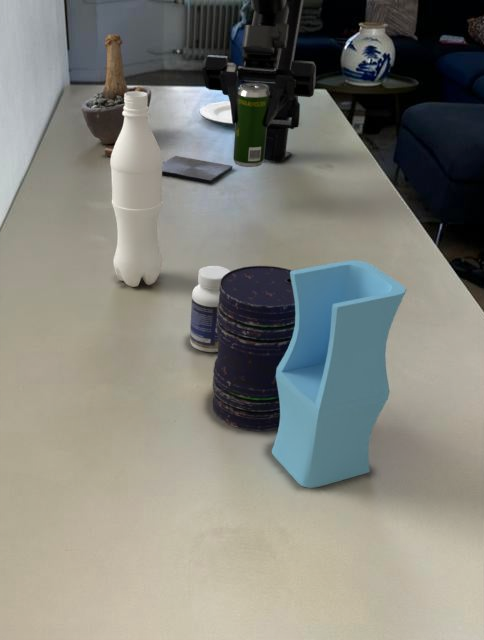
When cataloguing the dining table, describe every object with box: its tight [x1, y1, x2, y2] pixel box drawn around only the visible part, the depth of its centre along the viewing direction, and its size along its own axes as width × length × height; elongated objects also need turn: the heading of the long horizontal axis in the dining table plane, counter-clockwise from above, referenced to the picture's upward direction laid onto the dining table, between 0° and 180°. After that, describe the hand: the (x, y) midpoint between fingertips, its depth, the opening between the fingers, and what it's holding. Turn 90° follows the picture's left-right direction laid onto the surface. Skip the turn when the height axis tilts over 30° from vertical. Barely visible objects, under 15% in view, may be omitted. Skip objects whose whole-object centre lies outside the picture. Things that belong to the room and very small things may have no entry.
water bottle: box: [109, 91, 164, 288], centre depth 106 cm, size 7×7×25 cm
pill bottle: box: [189, 265, 231, 353], centre depth 96 cm, size 5×5×10 cm
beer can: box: [232, 82, 270, 168], centre depth 129 cm, size 5×5×12 cm
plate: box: [199, 100, 236, 129], centre depth 180 cm, size 21×21×2 cm
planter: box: [81, 33, 152, 146], centre depth 161 cm, size 15×17×20 cm
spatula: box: [104, 145, 233, 185], centre depth 154 cm, size 26×10×2 cm, turn 61°
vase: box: [271, 259, 407, 489], centre depth 74 cm, size 8×8×20 cm
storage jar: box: [211, 265, 296, 432], centre depth 83 cm, size 10×10×15 cm
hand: (249, 124), depth 128 cm, fingers closed on beer can, 5 cm apart
